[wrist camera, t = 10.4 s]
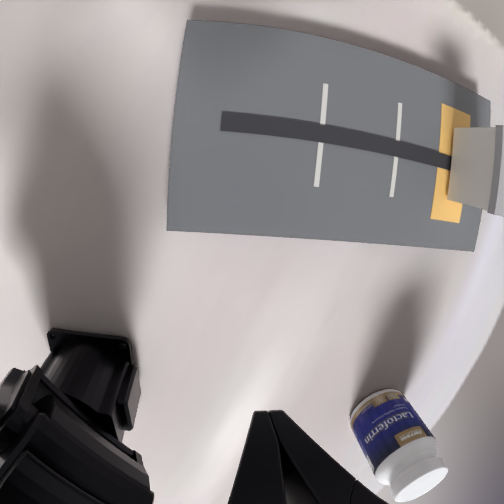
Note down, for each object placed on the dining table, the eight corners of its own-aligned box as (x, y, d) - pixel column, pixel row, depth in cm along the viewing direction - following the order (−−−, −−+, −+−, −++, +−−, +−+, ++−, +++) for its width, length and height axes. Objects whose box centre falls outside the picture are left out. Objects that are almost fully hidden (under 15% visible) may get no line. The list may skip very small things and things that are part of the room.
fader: (445, 200, 18) (494, 214, 14) (453, 126, 17) (502, 125, 12) (474, 206, 19) (520, 220, 14) (481, 137, 17) (529, 140, 13)
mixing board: (169, 224, 18) (166, 231, 17) (188, 29, 15) (186, 19, 14) (462, 246, 22) (474, 252, 20) (477, 102, 18) (491, 101, 17)
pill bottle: (391, 376, 24) (450, 453, 15) (408, 404, 26) (457, 472, 17) (337, 413, 25) (380, 500, 15) (360, 437, 27) (399, 511, 17)
